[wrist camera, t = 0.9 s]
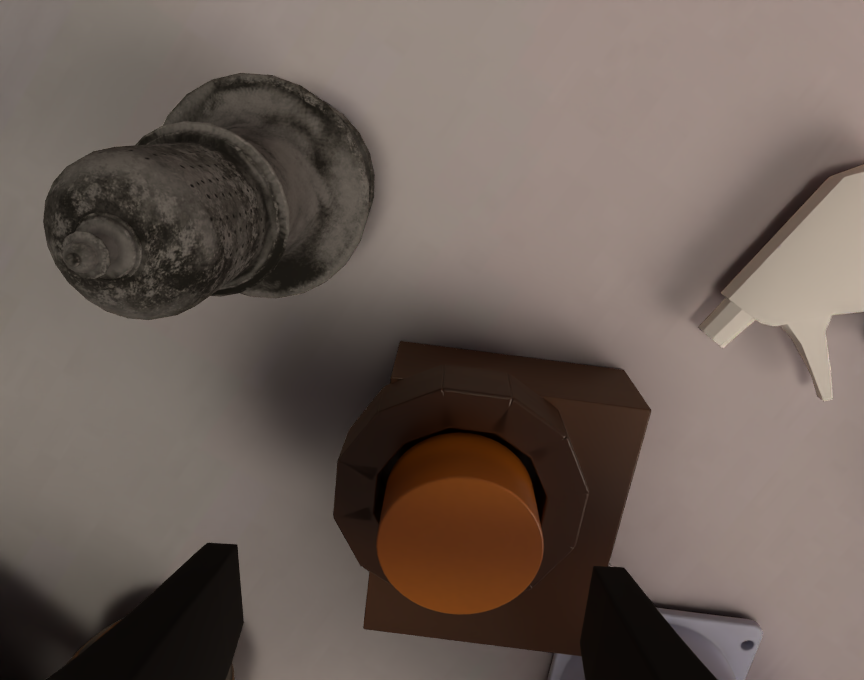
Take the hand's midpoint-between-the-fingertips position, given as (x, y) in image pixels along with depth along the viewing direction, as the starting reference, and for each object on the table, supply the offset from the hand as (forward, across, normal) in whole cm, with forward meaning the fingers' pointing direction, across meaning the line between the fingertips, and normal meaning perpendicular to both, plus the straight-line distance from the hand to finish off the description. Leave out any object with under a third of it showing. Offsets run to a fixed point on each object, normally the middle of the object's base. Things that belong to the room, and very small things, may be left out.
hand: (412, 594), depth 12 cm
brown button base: (+10, -2, +4) cm, 11 cm away
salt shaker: (+10, +5, -7) cm, 13 cm away
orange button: (+6, -1, +2) cm, 6 cm away
